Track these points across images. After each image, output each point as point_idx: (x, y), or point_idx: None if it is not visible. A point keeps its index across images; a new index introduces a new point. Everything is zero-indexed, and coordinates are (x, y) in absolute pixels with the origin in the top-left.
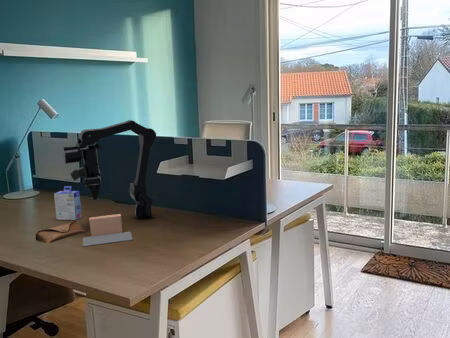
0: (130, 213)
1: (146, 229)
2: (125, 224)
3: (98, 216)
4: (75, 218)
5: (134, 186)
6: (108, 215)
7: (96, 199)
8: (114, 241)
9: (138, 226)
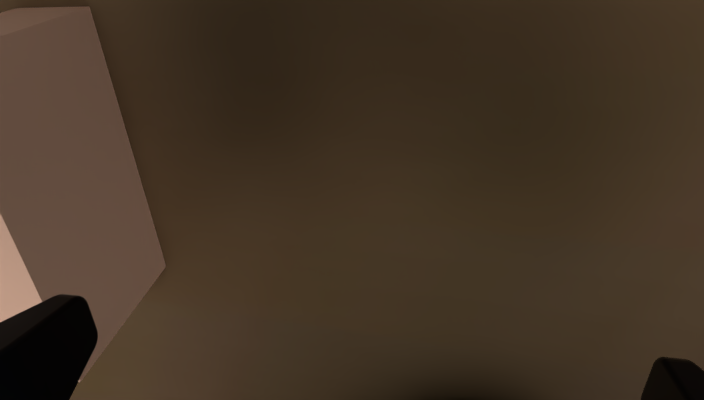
0: None
1: (157, 390)
2: (321, 309)
3: None
4: None
5: None
6: (27, 284)
7: (79, 336)
8: None
9: (237, 369)
